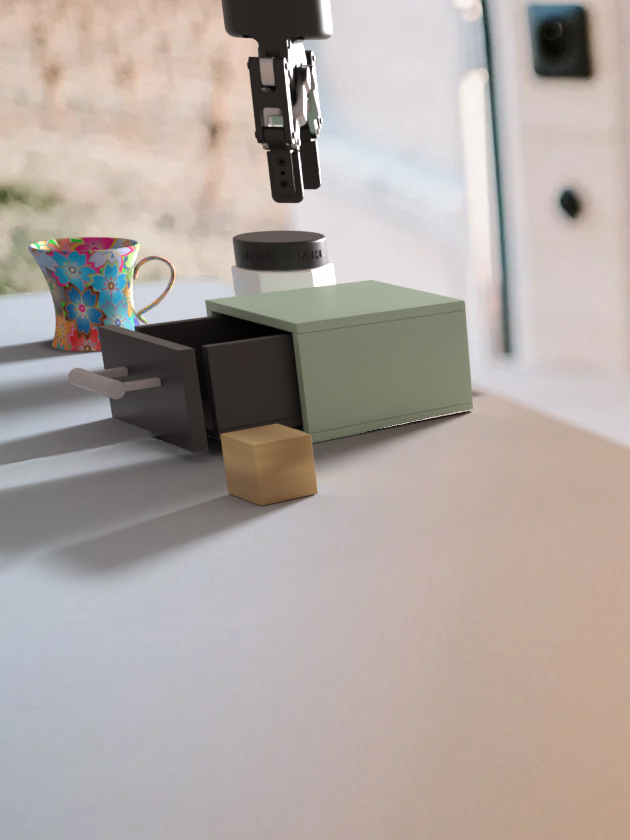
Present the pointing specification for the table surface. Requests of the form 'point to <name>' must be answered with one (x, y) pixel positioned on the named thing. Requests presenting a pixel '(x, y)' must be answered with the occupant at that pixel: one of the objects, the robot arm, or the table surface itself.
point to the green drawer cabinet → (367, 352)
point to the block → (269, 464)
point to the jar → (280, 262)
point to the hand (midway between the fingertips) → (298, 195)
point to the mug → (92, 286)
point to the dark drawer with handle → (197, 378)
